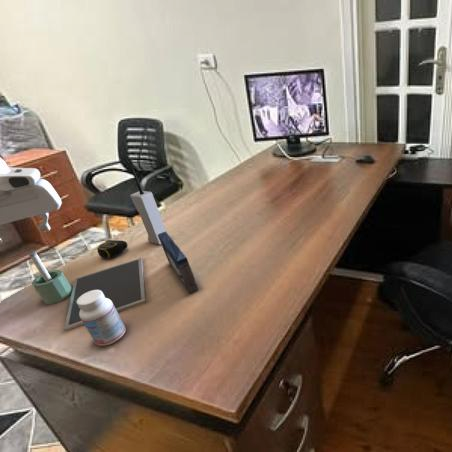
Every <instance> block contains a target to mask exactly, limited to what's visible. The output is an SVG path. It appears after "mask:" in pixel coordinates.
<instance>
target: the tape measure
mask: <svg viewBox="0 0 452 452" xmlns="http://www.w3.org/2000/svg"><path fill="white" fill-rule="evenodd" d="M128 246H129V245H128V243H127V241H125V240H119V239H118V240H117V239H107V240H106V241H105V242H103V243H100V244H99V245H98V247H97V248H96V249H97V253H98V255H99V257H100V258H102V259H112V258H114V257H117V256H119V255H121V254H122V253H123V252H124V251H125V250H127V248H128Z"/></svg>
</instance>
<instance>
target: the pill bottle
mask: <svg viewBox="0 0 452 452" xmlns="http://www.w3.org/2000/svg"><path fill="white" fill-rule="evenodd" d="M77 304H78V306H79V308H80V312H79V316H80V318H81V320H82V322H83V323H84V327H85V328H86V330H87V332H88V333H89V335H90V337H91V338H92V340H93V342H94V343H95V344H96V346H99V347H105V346H110V345H112V344H114V343H116V342H117V341H119V340H120V339H121V338H122V337H123V336H124V335H125V333H126V330H127V329H126V325H125V324H124V322H123V320H122V318H121V316H120V314H119V312H117V310H116V308H115V306H114V305H113V303H112V301H111V300H110V299H108V298H105V296H104V294H103V293H102V291H100V290H92V291H89V292H87V293H85V294H83V295H81V296H80V297H79V298H78V299H77Z"/></svg>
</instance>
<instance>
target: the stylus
mask: <svg viewBox="0 0 452 452" xmlns="http://www.w3.org/2000/svg"><path fill="white" fill-rule="evenodd" d="M28 256H29V258H30V259H31V261H32V262H33V264H34V266H35V267H36V269H37V270H38V272H39V273H40V275H42V277H43V278H44V280H45V282H48V281H51V280H52V278H51V276H50V275H49V273H48V272H49V271H48V270H47V268H46V266H45V265H44V263H43V262H42V260H41V259H40V257H39V255H38V254H37V252H36V251H31V252H29V253H28Z"/></svg>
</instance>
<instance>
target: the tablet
mask: <svg viewBox="0 0 452 452" xmlns="http://www.w3.org/2000/svg"><path fill="white" fill-rule="evenodd" d="M92 290H100V291H102V293H103V294H104V296H105V298H108V299H110V300H111V301H112V303H113V305H114V306H115V308H116V310H117V312H118V313H120V312H123V311H126V310H129V309H131V308H134V307H137V306H140V305H142V304H143V305H144V304H146V303H147V295H146V284H145V275H144V265H143V258H142V257H140V258H136V259H133V260H130V261H126V262H124V263H121V264H120V263H119V264H117V265H115V266H111V267H108V268H105V269H102V270H98V271H95V272H92V273H89V274H86V275H82V276H79V277H76V278H74V281H73V285H72V293H71V294H70V299H69V304H68V308H67V313H66V318H65V323H64V328H63V329H64V330H65V332H68V331H70V330H73V329H76V328H78V327H81V326H83V325H84V323H83V322H82V320H81V318H80V316H79V312H80V308H79V306H78V304H77V299H78V298H79V297H80V296H81V295H83V294H85V293H87V292H89V291H92ZM84 326H85V325H84Z"/></svg>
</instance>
